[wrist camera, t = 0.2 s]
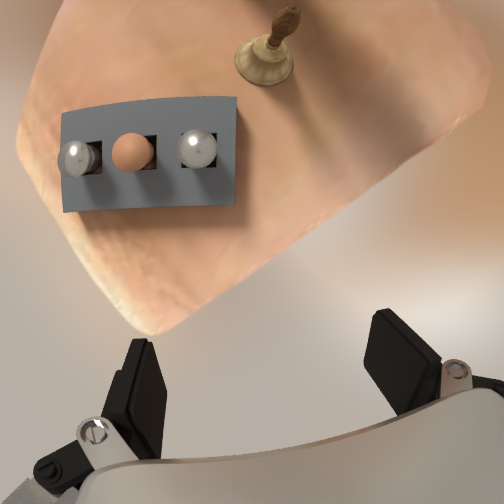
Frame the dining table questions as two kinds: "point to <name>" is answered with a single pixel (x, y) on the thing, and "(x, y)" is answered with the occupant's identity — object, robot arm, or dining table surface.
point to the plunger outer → (78, 159)
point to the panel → (168, 164)
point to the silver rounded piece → (196, 148)
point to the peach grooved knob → (132, 152)
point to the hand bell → (269, 51)
